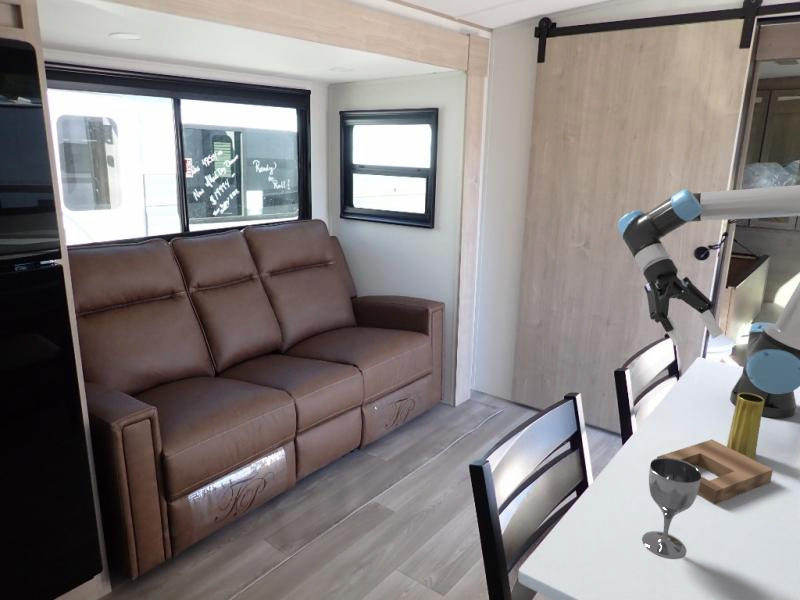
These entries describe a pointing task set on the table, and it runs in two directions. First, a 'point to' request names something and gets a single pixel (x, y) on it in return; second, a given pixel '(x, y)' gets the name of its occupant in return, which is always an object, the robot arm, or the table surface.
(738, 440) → the vase
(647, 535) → the wine glass
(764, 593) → the table surface
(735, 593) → the table surface
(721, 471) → the frame
